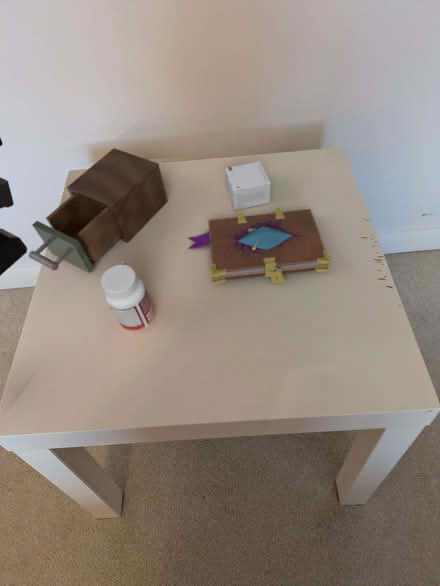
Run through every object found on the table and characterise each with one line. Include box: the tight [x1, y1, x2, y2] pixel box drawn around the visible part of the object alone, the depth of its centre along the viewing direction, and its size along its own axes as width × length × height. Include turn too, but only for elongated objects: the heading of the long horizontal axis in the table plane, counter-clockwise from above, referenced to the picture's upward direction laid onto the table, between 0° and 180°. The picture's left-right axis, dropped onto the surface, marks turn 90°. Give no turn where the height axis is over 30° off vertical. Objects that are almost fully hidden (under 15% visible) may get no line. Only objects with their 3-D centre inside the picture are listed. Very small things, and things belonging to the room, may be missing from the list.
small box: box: [224, 160, 272, 211], centre depth 77 cm, size 8×8×5 cm
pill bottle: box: [100, 264, 156, 333], centre depth 59 cm, size 6×6×11 cm
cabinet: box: [66, 147, 169, 244], centre depth 75 cm, size 14×12×10 cm
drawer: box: [28, 193, 122, 274], centre depth 69 cm, size 17×10×8 cm, turn 148°
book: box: [187, 207, 333, 285], centre depth 68 cm, size 16×25×5 cm, turn 95°
